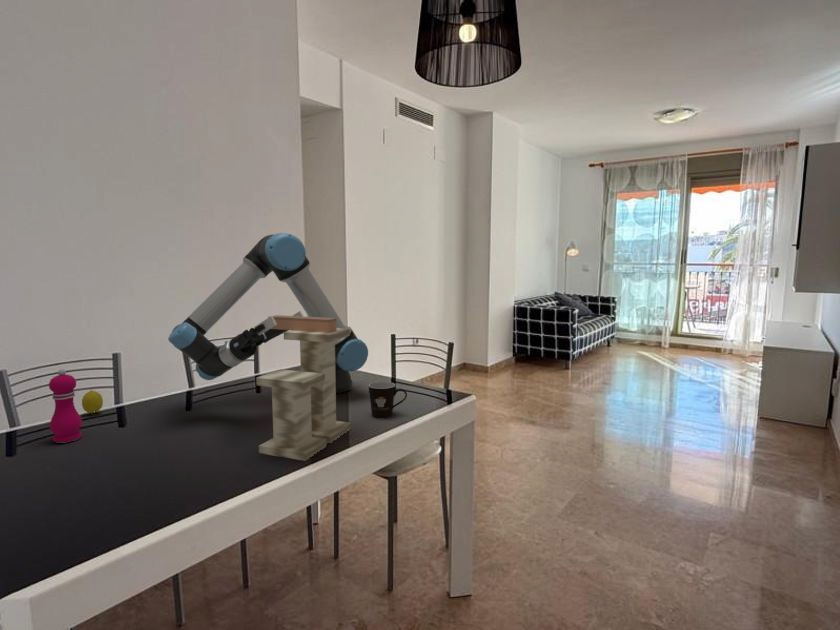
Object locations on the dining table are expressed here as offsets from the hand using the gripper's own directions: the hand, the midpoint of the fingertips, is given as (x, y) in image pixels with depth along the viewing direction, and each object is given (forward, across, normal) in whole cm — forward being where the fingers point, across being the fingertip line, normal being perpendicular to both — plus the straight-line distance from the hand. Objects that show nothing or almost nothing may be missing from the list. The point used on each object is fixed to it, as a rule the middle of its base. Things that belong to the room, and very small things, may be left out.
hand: (288, 317), depth 139 cm
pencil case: (+2, 0, +5) cm, 5 cm away
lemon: (-76, -11, -5) cm, 77 cm away
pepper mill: (-63, -29, +2) cm, 69 cm away
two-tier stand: (-9, -6, +33) cm, 35 cm away
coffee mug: (+2, +21, +40) cm, 45 cm away
